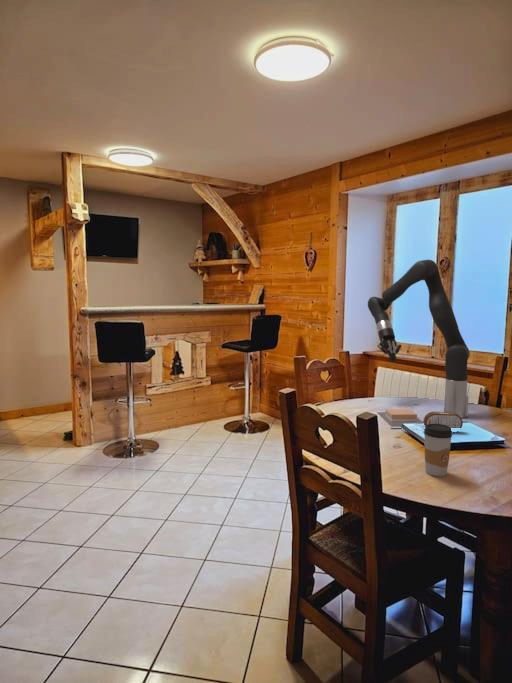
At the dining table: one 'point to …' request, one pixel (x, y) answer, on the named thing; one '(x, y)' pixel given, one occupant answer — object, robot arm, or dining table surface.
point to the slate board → (397, 423)
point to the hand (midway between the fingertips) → (393, 361)
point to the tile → (401, 415)
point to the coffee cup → (437, 449)
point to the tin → (444, 419)
